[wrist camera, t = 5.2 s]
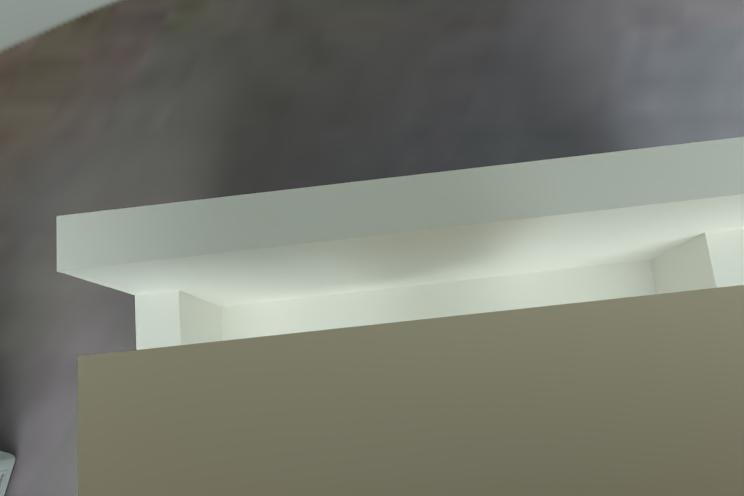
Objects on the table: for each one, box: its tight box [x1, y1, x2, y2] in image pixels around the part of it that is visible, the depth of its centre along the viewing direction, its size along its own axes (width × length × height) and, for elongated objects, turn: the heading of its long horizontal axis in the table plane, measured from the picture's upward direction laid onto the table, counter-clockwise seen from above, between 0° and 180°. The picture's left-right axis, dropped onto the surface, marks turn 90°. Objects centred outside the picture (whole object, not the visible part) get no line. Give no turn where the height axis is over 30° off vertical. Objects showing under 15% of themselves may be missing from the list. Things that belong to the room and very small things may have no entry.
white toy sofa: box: [57, 137, 744, 350], centre depth 17 cm, size 10×16×9 cm, turn 96°
